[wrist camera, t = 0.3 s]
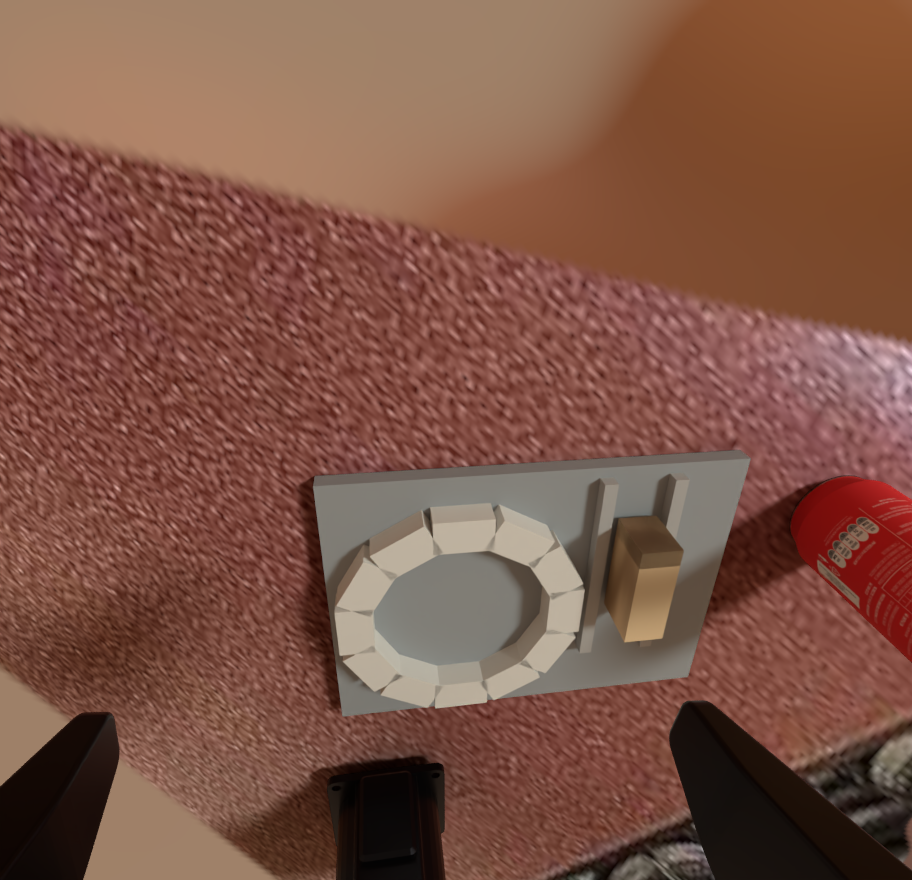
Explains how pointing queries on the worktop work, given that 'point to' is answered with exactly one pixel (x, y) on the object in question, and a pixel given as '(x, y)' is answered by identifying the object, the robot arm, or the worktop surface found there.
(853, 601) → the beverage can
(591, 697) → the worktop surface
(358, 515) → the dock board
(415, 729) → the worktop surface
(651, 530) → the bar
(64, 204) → the worktop surface
